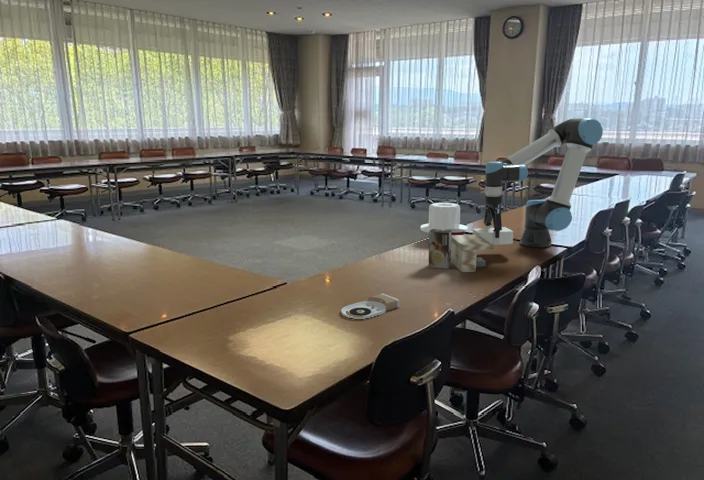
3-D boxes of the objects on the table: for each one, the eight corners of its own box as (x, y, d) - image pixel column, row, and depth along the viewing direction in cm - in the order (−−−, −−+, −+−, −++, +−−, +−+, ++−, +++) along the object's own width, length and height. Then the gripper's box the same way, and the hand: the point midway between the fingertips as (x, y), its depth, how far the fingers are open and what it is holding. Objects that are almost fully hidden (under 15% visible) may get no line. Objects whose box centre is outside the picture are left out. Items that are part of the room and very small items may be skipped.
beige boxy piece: (476, 258, 234) (477, 234, 232) (491, 271, 215) (493, 244, 212) (449, 259, 233) (449, 235, 230) (461, 272, 214) (462, 245, 211)
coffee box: (451, 265, 224) (452, 229, 220) (448, 269, 218) (449, 232, 215) (431, 263, 227) (432, 228, 224) (427, 267, 222) (428, 231, 218)
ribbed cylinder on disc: (415, 235, 284) (416, 201, 280) (458, 233, 287) (459, 200, 283) (426, 245, 260) (427, 209, 256) (473, 243, 263) (475, 207, 259)
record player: (401, 300, 173) (356, 315, 161) (401, 309, 173) (356, 324, 161) (379, 292, 181) (334, 305, 170) (379, 300, 182) (334, 313, 170)
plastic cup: (463, 250, 249) (464, 226, 246) (465, 256, 238) (466, 231, 236) (440, 250, 250) (441, 226, 247) (442, 256, 239) (443, 231, 237)
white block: (504, 239, 246) (505, 226, 244) (512, 243, 236) (513, 231, 235) (472, 240, 245) (472, 228, 243) (479, 245, 235) (479, 233, 234)
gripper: (477, 192, 246) (476, 236, 251) (494, 199, 224) (492, 247, 229) (492, 191, 246) (491, 236, 252) (510, 198, 224) (509, 247, 230)
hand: (492, 241), depth 240 cm, fingers closed on white block, 10 cm apart
